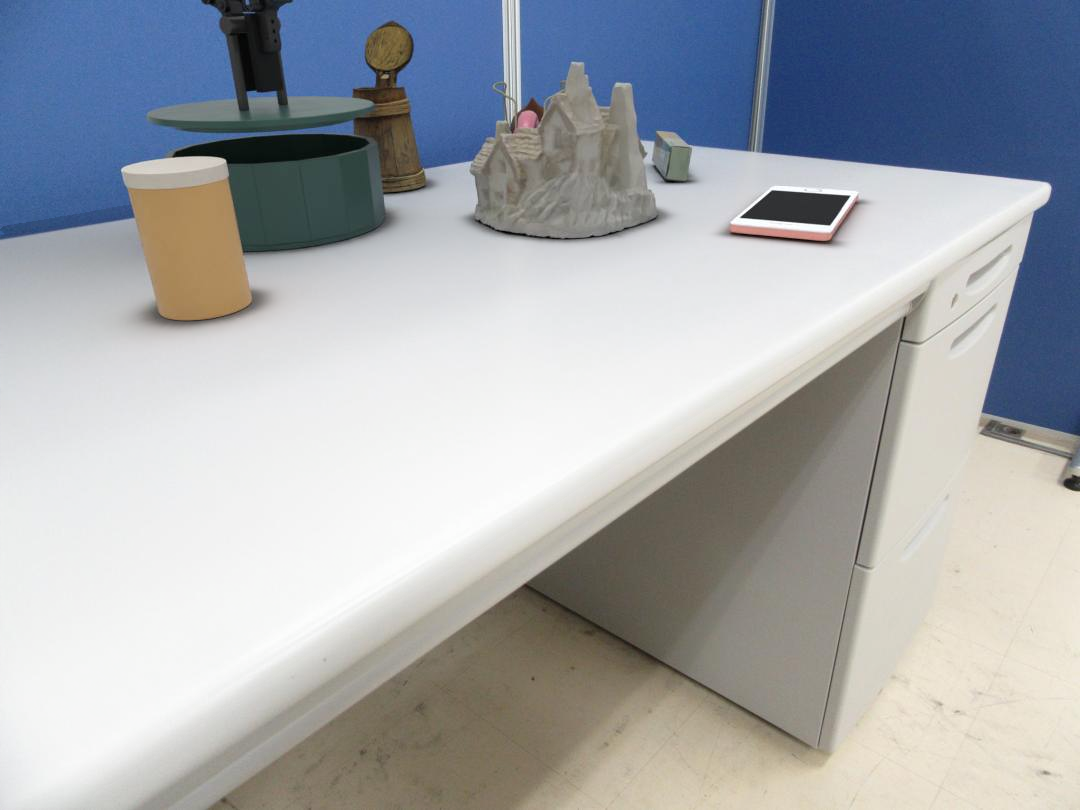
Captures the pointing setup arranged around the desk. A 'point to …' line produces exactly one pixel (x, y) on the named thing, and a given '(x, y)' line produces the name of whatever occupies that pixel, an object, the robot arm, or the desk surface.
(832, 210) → the cell phone
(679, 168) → the medication box
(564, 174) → the ceramic cottage
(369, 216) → the pot
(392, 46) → the wooden mug
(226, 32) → the lid
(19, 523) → the desk surface
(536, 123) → the anatomy model
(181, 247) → the tan canister with cap
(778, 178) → the desk surface
